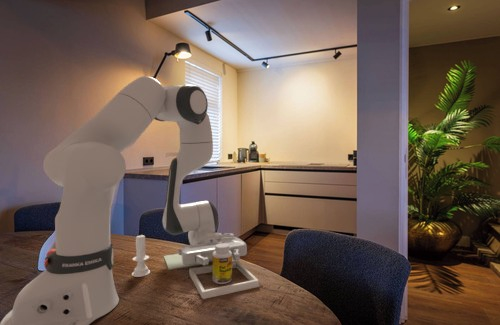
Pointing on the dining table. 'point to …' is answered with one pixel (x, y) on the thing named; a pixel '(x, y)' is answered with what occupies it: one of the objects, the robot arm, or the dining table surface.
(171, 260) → the mat
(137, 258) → the candle
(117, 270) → the dining table surface
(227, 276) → the supplement bottle
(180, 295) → the dining table surface
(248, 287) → the white square frame
